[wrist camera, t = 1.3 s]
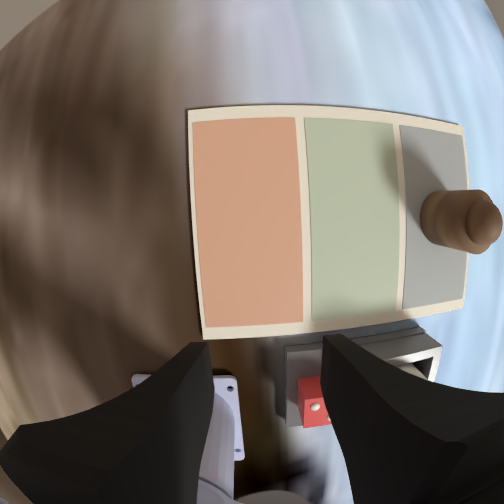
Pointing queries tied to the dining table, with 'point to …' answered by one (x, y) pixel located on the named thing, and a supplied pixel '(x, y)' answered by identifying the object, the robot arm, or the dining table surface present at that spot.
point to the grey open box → (382, 345)
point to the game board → (319, 218)
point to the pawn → (461, 220)
